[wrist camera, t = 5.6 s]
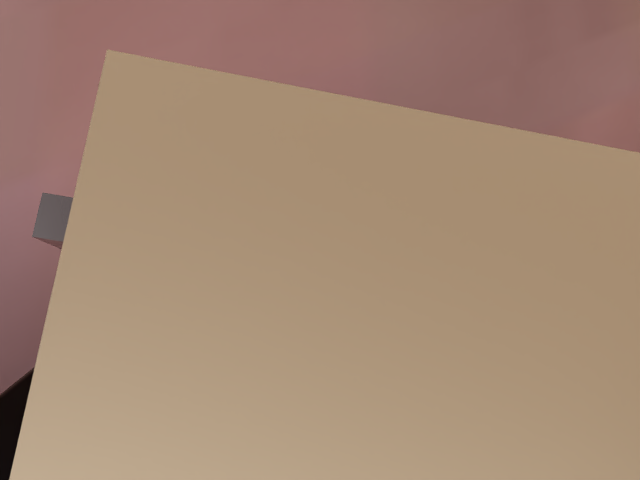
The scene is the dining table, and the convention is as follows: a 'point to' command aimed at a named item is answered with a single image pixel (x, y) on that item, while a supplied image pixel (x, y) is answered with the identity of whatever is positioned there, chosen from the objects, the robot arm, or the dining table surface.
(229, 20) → the dining table surface
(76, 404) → the birch board
